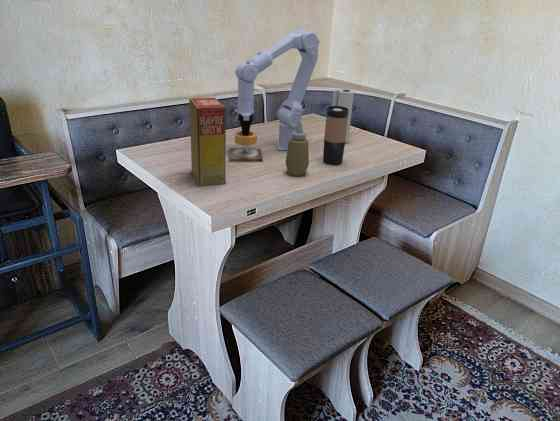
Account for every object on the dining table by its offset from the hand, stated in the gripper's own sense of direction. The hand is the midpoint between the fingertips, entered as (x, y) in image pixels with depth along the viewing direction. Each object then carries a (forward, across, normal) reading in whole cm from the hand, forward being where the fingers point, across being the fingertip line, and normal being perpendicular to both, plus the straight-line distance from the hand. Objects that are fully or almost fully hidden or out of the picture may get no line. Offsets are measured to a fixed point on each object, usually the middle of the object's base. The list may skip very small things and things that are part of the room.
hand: (245, 134), depth 171 cm
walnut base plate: (+7, +3, 0) cm, 8 cm away
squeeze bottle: (+8, +20, +17) cm, 28 cm away
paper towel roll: (+7, -15, +40) cm, 43 cm away
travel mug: (+7, +9, +32) cm, 34 cm away
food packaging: (+8, +24, -13) cm, 29 cm away
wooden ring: (+2, +3, 0) cm, 4 cm away
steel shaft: (+7, +3, 0) cm, 8 cm away
